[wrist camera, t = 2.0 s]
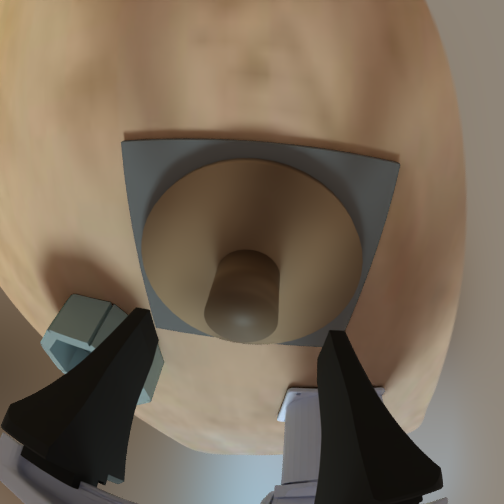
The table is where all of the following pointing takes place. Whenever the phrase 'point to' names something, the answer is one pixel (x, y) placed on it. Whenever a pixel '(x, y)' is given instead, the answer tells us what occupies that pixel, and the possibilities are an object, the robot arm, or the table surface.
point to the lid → (252, 251)
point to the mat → (301, 157)
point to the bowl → (89, 336)
